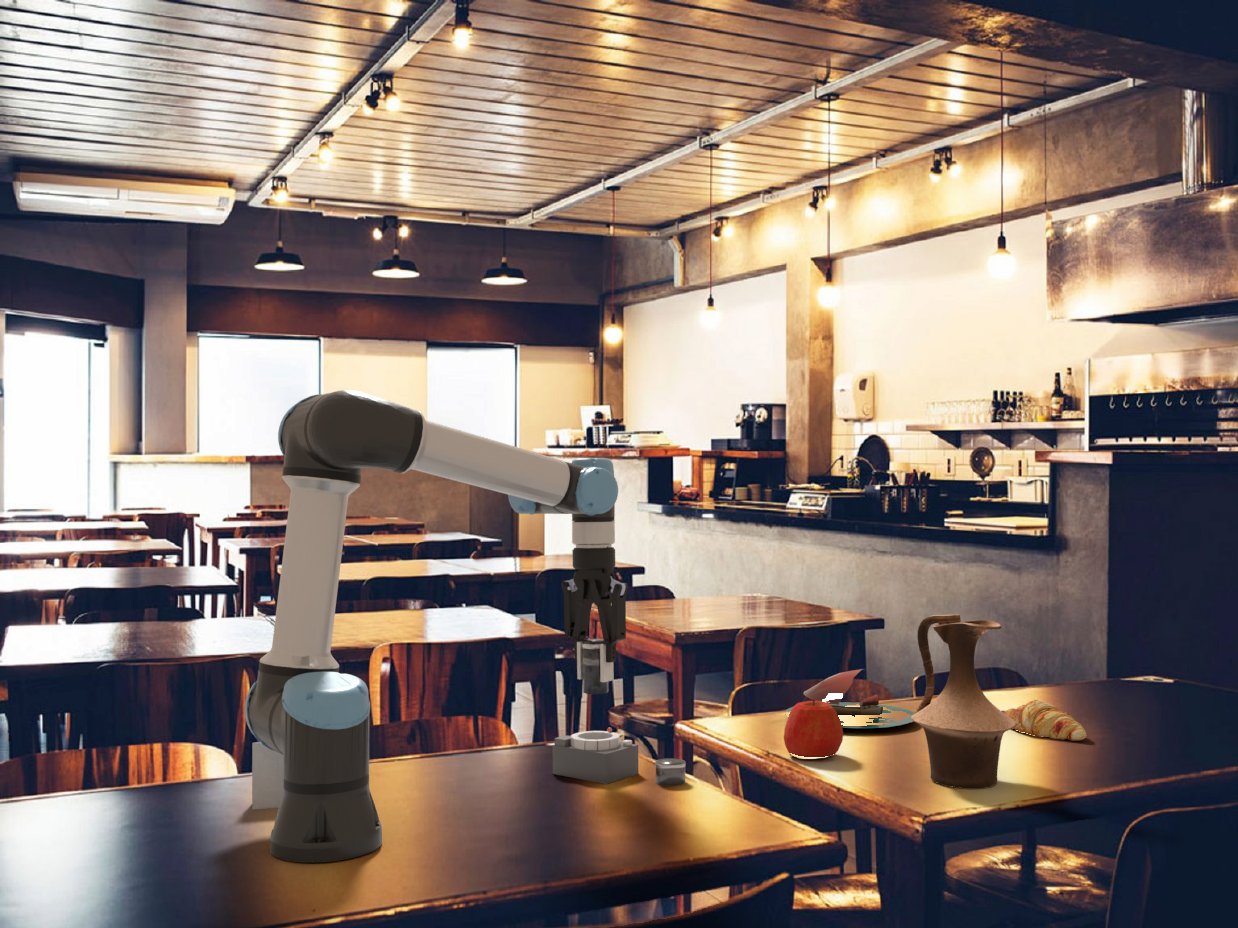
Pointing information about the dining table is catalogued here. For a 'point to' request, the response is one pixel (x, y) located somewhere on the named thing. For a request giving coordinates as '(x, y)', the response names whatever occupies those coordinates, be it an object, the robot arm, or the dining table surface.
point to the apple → (813, 730)
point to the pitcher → (960, 709)
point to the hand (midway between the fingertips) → (595, 679)
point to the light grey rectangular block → (266, 777)
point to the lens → (592, 667)
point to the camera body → (595, 756)
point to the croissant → (1046, 721)
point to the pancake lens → (670, 772)
